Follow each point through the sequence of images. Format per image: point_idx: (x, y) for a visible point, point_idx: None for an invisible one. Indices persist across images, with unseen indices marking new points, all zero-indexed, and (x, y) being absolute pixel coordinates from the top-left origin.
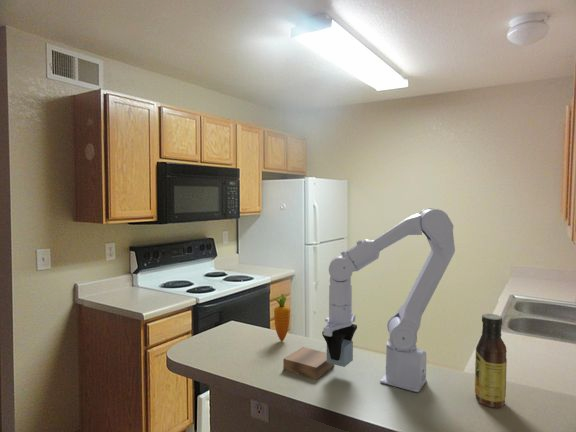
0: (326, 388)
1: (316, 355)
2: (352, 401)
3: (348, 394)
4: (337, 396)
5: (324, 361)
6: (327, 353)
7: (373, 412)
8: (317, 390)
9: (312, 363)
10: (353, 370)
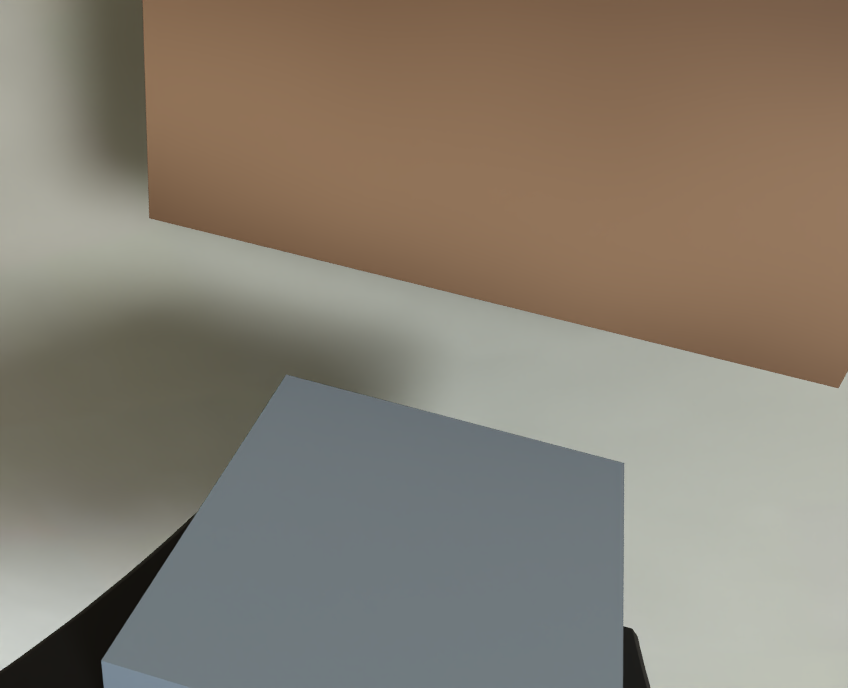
0: (103, 319)
1: (697, 55)
2: (44, 544)
3: (127, 512)
4: (34, 436)
5: (448, 284)
6: (213, 497)
7: (10, 656)
8: (4, 240)
9: (263, 102)
10: (692, 524)
